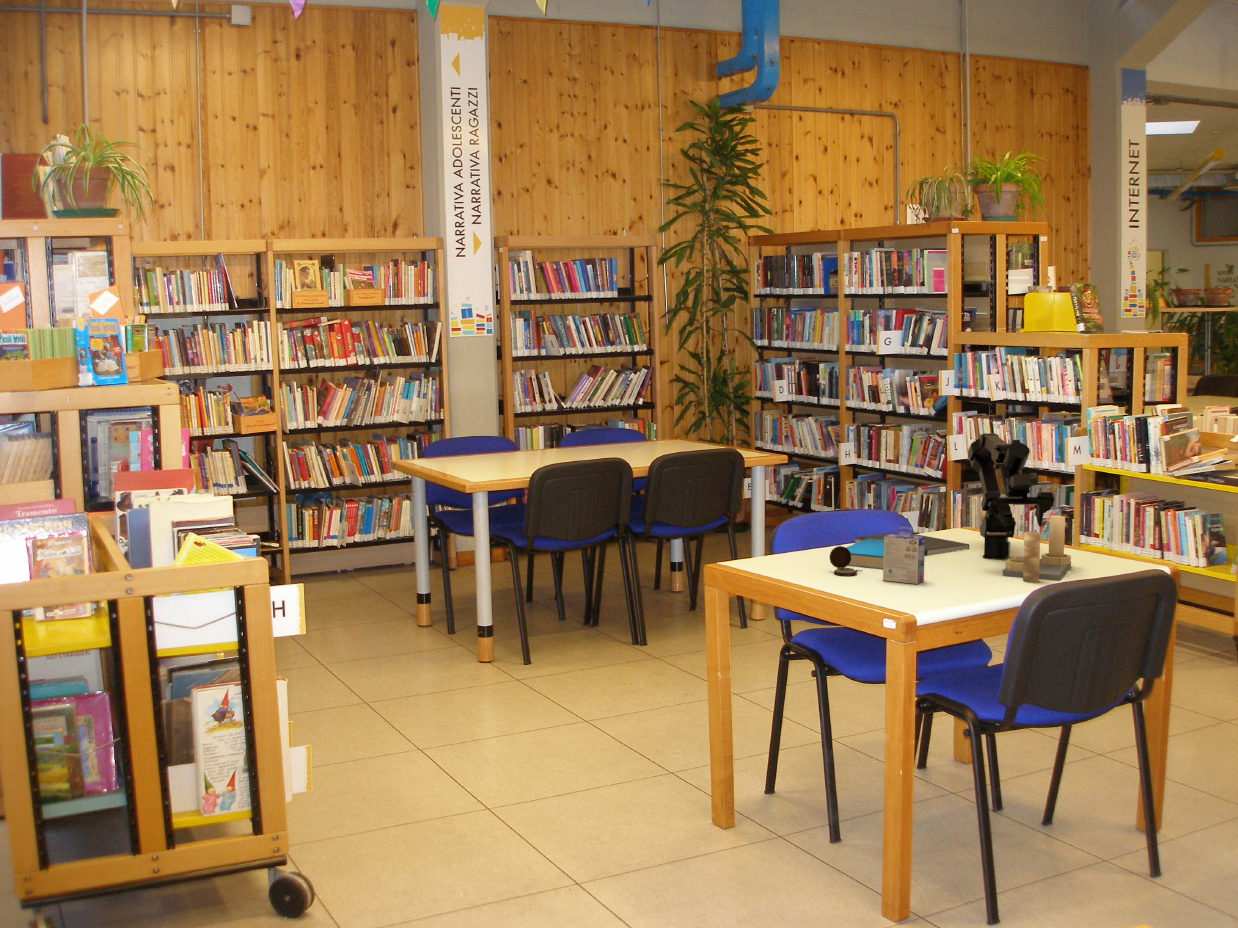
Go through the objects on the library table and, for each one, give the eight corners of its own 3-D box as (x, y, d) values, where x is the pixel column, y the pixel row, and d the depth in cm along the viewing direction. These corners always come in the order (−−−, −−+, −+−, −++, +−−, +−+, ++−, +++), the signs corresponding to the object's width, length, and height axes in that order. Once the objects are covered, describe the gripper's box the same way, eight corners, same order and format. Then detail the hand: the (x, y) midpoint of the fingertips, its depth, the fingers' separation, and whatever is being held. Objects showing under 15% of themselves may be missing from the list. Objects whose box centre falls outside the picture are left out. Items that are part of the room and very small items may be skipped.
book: (920, 542, 349) (891, 555, 328) (920, 557, 349) (891, 570, 328) (865, 538, 358) (833, 550, 337) (865, 552, 358) (833, 564, 337)
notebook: (969, 551, 359) (901, 538, 383) (969, 543, 359) (901, 531, 382) (919, 558, 348) (852, 544, 371) (919, 550, 347) (852, 537, 371)
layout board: (1002, 575, 320) (1004, 523, 318) (1017, 561, 338) (1019, 512, 337) (1059, 580, 312) (1061, 526, 311) (1071, 566, 331) (1073, 515, 330)
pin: (1021, 581, 312) (1023, 533, 310) (1024, 578, 315) (1025, 531, 314) (1037, 583, 310) (1038, 534, 308) (1040, 580, 313) (1041, 532, 312)
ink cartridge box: (925, 581, 314) (926, 527, 312) (918, 584, 309) (919, 530, 307) (889, 577, 319) (890, 524, 317) (882, 581, 314) (883, 527, 313)
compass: (839, 577, 320) (839, 550, 319) (828, 571, 328) (829, 545, 327) (866, 575, 321) (867, 549, 320) (855, 570, 329) (856, 544, 328)
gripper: (984, 462, 323) (995, 508, 313) (1053, 462, 322) (1066, 508, 312) (976, 487, 331) (986, 532, 322) (1043, 487, 331) (1055, 532, 321)
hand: (1023, 525), depth 319 cm, fingers open, 9 cm apart
